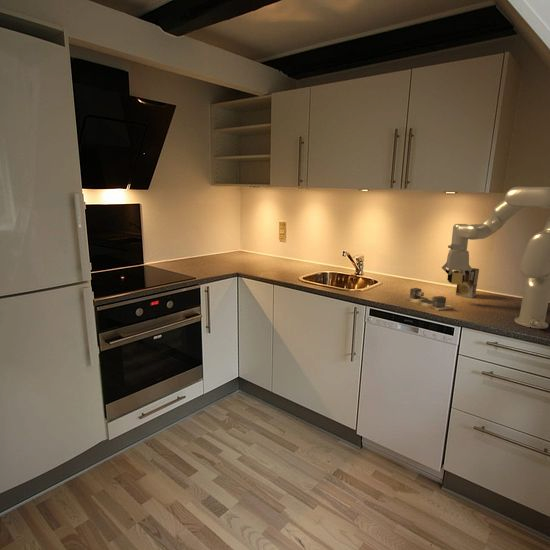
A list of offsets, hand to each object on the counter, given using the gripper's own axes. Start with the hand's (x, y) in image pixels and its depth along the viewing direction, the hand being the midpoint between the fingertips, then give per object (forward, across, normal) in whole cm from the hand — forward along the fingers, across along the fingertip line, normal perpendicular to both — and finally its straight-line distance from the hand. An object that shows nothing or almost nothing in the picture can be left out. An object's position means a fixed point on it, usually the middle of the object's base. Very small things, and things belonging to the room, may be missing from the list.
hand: (455, 281), depth 193 cm
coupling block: (+1, 0, 0) cm, 1 cm away
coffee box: (+12, +11, +19) cm, 25 cm away
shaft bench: (+11, -14, -5) cm, 19 cm away
